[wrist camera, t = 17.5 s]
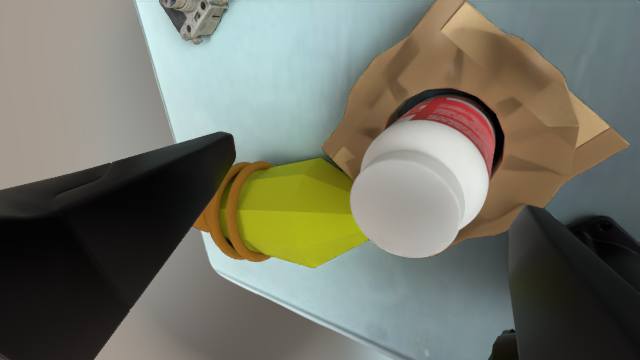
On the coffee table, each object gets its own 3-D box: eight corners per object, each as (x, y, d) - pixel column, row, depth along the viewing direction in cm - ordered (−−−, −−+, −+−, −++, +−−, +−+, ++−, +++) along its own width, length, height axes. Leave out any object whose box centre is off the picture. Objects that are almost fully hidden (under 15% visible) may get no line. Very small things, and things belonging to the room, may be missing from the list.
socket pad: (636, 138, 16) (653, 153, 14) (441, 249, 25) (435, 268, 23) (448, -26, 17) (440, -32, 15) (325, 135, 26) (310, 143, 24)
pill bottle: (433, 75, 20) (372, 110, 11) (519, 124, 18) (525, 206, 10) (387, 148, 23) (315, 216, 15) (456, 193, 22) (421, 296, 14)
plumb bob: (413, 130, 22) (182, 150, 33) (393, 211, 16) (113, 202, 27) (424, 219, 27) (218, 210, 38) (412, 310, 20) (168, 268, 31)
